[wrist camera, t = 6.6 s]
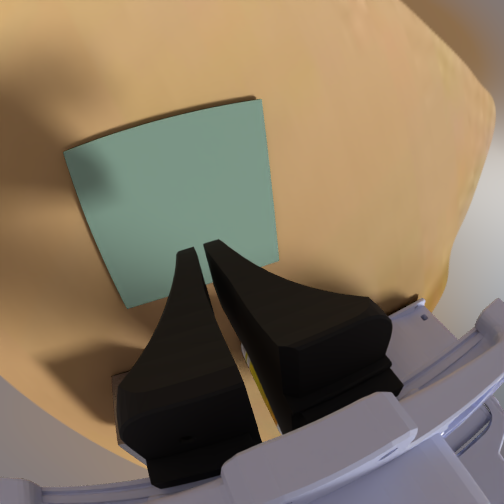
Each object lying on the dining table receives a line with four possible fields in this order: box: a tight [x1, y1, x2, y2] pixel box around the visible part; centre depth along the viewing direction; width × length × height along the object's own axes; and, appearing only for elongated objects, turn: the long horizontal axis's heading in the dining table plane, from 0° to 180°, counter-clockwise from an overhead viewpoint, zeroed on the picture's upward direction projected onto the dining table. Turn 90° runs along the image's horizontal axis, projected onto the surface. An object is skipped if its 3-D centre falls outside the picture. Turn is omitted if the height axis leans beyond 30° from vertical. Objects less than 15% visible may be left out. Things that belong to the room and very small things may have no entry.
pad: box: [63, 99, 279, 309], centre depth 16 cm, size 10×10×1 cm
